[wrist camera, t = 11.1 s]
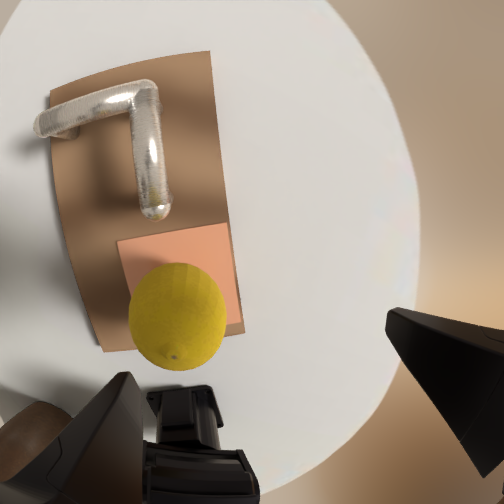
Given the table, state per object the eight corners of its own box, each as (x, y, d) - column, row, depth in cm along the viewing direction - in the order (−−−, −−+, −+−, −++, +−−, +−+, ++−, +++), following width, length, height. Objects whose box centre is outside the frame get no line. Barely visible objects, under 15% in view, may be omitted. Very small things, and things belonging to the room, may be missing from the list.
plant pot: (-11, 376, 18) (-58, 460, 3) (65, 372, 20) (16, 505, 5) (51, 450, 23) (33, 530, 8) (131, 454, 24) (128, 558, 9)
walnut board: (243, 326, 22) (245, 333, 21) (106, 345, 20) (103, 352, 19) (209, 56, 15) (210, 50, 14) (56, 93, 14) (50, 90, 13)
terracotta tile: (240, 320, 20) (241, 322, 20) (144, 335, 19) (144, 337, 19) (226, 221, 18) (226, 222, 18) (117, 240, 17) (116, 241, 17)
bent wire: (178, 208, 17) (171, 220, 13) (76, 229, 16) (44, 247, 12) (165, 97, 15) (155, 72, 10) (63, 124, 14) (28, 114, 9)
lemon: (132, 302, 18) (103, 375, 11) (159, 233, 17) (133, 279, 10) (201, 330, 20) (208, 409, 12) (233, 267, 19) (258, 329, 11)
